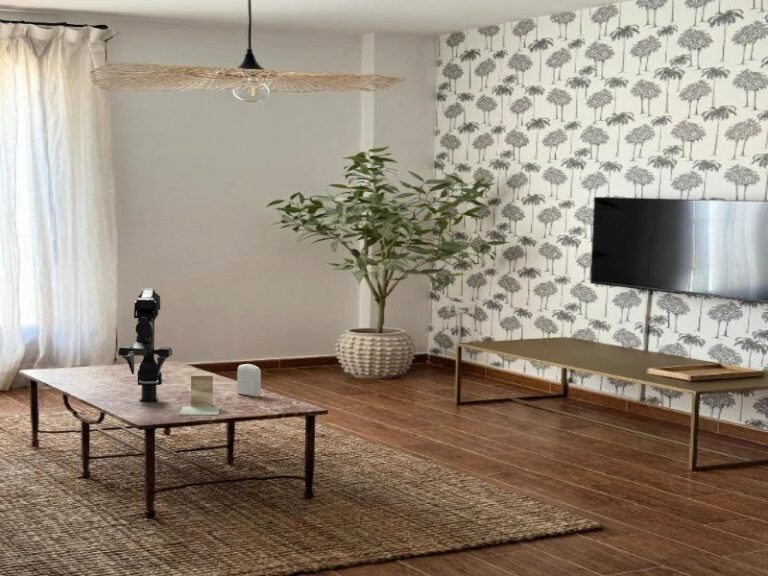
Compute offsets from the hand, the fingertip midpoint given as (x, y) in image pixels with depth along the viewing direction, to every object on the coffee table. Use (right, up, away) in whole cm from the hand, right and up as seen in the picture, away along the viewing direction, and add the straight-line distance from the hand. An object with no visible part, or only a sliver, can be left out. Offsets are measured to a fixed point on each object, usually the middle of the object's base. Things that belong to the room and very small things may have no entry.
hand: (145, 374), depth 421 cm
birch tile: (+18, -13, +14) cm, 27 cm away
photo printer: (+33, -11, +40) cm, 53 cm away
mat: (+19, -14, +5) cm, 24 cm away
